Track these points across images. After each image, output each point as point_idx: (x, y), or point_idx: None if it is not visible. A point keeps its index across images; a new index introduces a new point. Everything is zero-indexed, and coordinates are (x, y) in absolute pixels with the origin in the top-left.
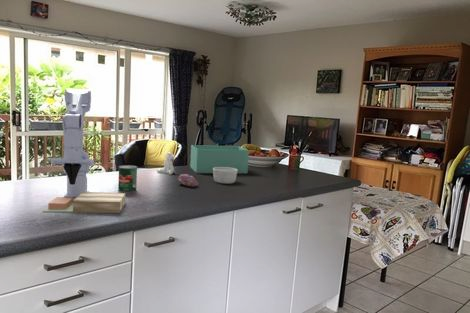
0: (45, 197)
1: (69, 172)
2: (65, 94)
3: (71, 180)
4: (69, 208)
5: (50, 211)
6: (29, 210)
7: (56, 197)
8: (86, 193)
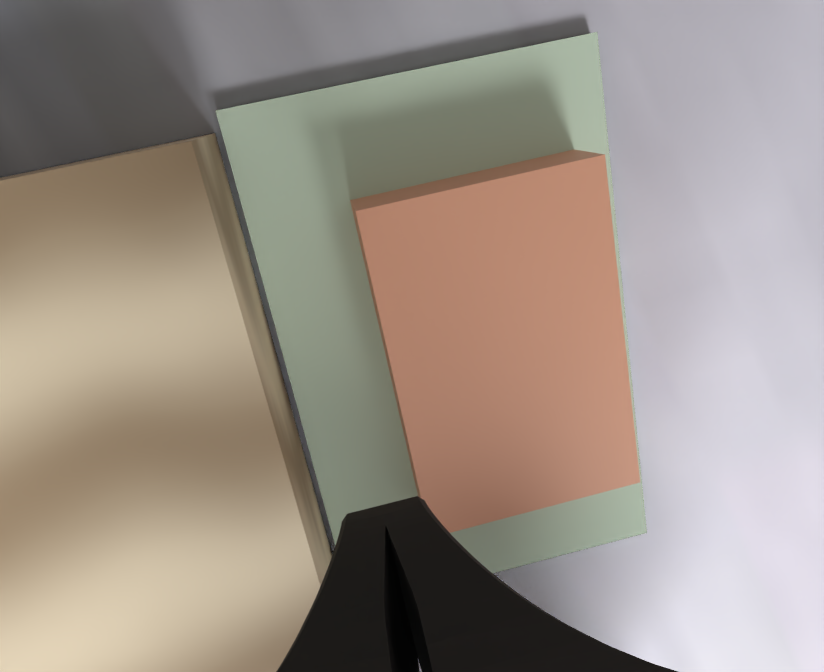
0: (808, 613)
1: (468, 657)
2: None
3: (392, 544)
4: (323, 238)
5: (500, 53)
6: (774, 61)
7: (631, 469)
8: (255, 637)
